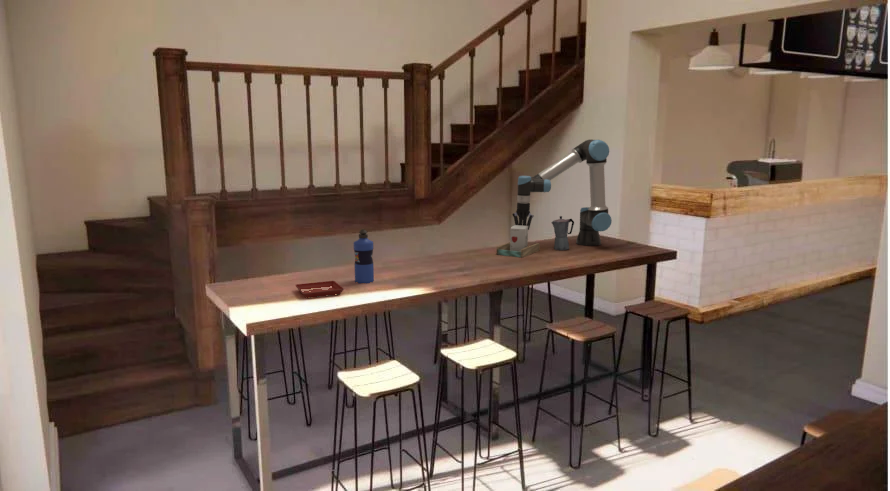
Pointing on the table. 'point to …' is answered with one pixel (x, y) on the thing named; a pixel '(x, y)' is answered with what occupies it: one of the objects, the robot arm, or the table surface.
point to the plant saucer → (319, 292)
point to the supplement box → (518, 237)
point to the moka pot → (561, 233)
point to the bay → (524, 252)
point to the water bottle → (363, 258)
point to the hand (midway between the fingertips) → (521, 241)
